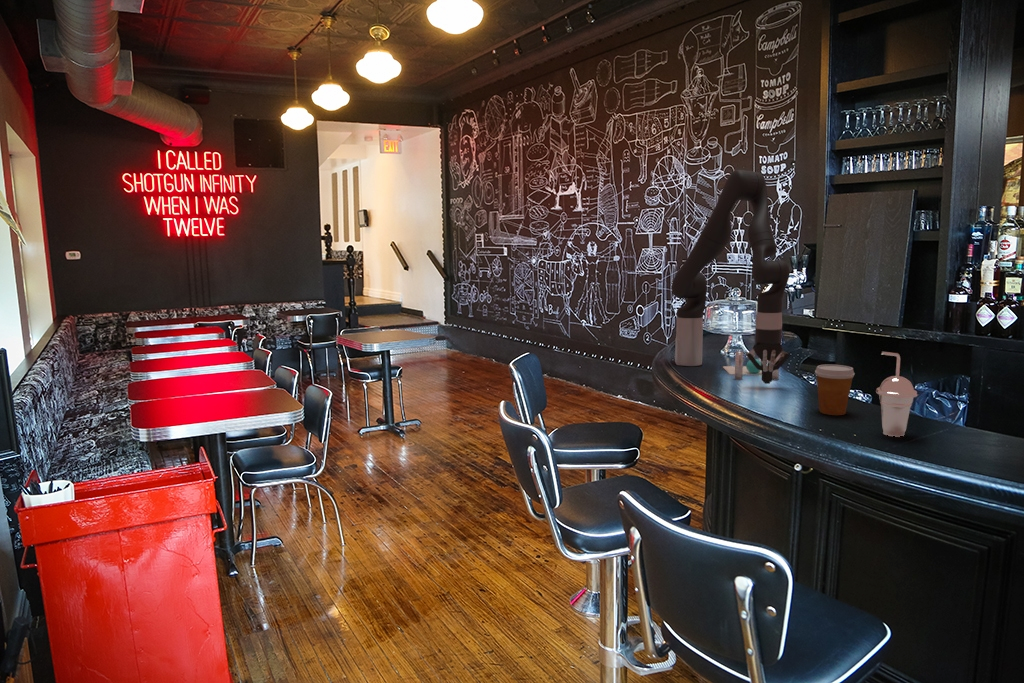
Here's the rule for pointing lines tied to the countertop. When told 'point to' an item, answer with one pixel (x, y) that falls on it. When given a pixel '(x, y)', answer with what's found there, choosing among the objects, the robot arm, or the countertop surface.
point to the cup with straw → (895, 401)
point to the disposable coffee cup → (833, 388)
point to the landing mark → (745, 372)
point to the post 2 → (775, 371)
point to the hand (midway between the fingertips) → (766, 383)
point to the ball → (753, 367)
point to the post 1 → (738, 365)
